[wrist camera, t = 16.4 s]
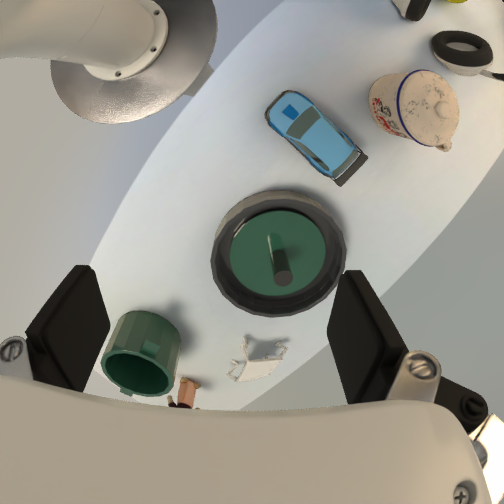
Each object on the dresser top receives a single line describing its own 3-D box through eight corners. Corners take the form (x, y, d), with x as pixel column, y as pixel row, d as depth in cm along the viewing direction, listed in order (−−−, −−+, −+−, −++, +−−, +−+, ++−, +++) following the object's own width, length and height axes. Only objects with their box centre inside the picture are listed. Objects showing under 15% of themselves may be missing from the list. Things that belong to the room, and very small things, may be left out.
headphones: (364, -8, 23) (447, -62, 6) (393, -30, 20) (473, -75, 3) (450, 90, 30) (553, 107, 12) (472, 63, 27) (567, 72, 9)
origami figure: (251, 323, 48) (252, 344, 44) (288, 341, 51) (292, 361, 46) (215, 360, 53) (213, 380, 48) (250, 374, 55) (251, 394, 51)
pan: (192, 269, 43) (188, 284, 39) (257, 164, 36) (259, 170, 32) (290, 316, 48) (293, 332, 44) (361, 232, 41) (371, 244, 37)
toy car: (288, 84, 31) (297, 80, 26) (354, 148, 35) (372, 155, 30) (257, 117, 33) (260, 119, 28) (325, 178, 37) (338, 190, 32)
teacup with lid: (352, 102, 32) (396, 104, 21) (391, 61, 28) (441, 52, 18) (407, 163, 36) (456, 187, 25) (440, 123, 32) (493, 136, 22)
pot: (108, 347, 51) (94, 383, 43) (131, 288, 44) (112, 327, 36) (163, 372, 55) (155, 409, 46) (198, 321, 48) (191, 363, 39)
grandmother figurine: (207, 383, 56) (203, 434, 45) (200, 391, 58) (195, 440, 47) (174, 371, 54) (164, 422, 43) (168, 380, 56) (158, 429, 45)
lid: (212, 267, 42) (208, 294, 36) (263, 189, 37) (267, 206, 31) (288, 304, 46) (294, 332, 40) (342, 239, 40) (357, 262, 35)
